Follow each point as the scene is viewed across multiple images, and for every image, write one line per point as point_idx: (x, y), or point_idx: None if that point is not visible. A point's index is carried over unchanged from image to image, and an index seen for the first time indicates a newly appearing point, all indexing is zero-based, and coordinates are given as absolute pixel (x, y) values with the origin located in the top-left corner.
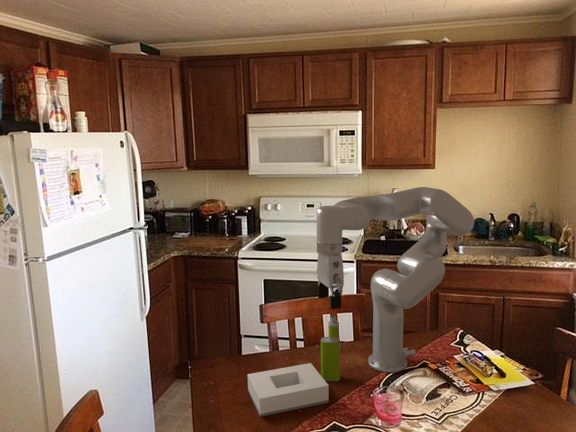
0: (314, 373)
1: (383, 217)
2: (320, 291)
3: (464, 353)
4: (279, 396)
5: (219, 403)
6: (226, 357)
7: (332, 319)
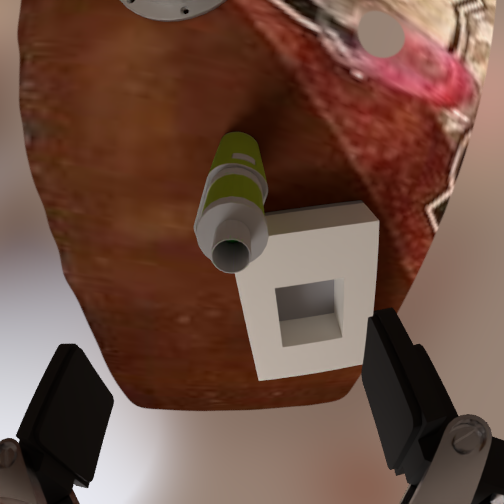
0: (300, 243)
1: None
2: (96, 441)
3: None
4: None
5: (288, 385)
6: (111, 369)
7: (245, 260)
